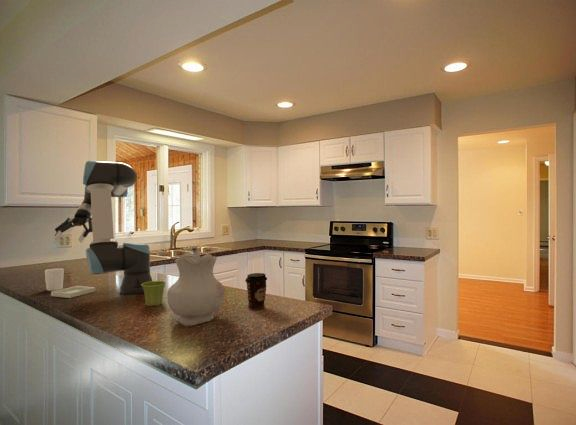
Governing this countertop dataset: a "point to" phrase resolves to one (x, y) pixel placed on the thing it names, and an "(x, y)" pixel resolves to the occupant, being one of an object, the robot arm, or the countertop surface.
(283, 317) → the countertop surface
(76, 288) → the coaster tray
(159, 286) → the plant pot
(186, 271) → the ceramic pitcher
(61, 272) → the white cup
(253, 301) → the coffee cup
